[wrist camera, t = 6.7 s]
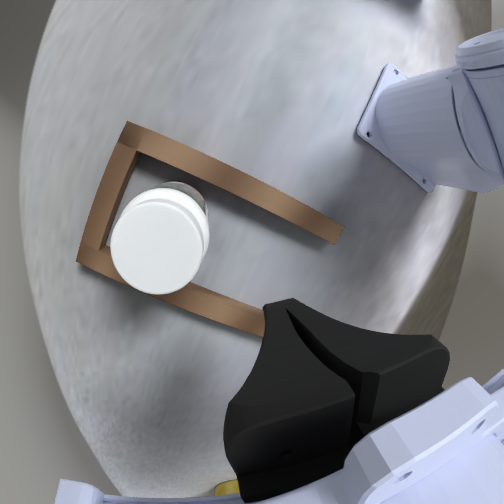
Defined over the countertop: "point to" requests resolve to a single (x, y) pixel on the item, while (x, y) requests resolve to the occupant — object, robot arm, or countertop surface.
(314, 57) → the countertop surface
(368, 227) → the countertop surface
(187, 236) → the pill bottle
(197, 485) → the countertop surface
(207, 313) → the walnut guide channel
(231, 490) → the plant pot
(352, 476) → the robot arm
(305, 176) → the countertop surface
